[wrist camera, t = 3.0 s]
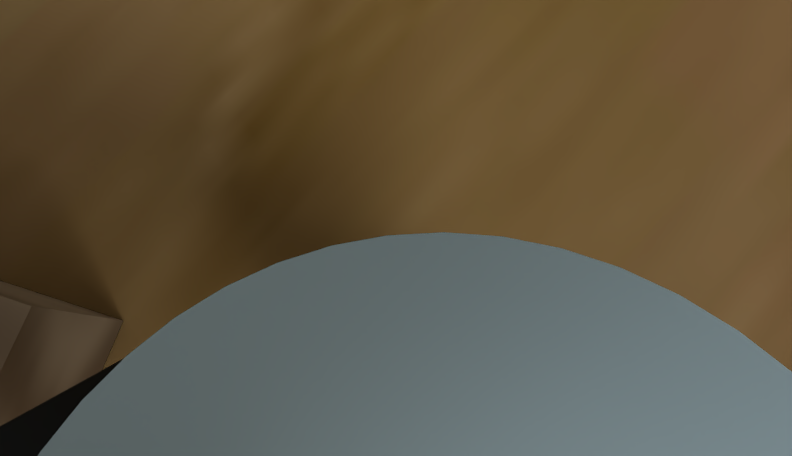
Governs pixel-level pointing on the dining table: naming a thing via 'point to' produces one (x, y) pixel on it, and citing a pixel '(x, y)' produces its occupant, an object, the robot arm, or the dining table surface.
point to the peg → (439, 363)
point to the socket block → (47, 347)
